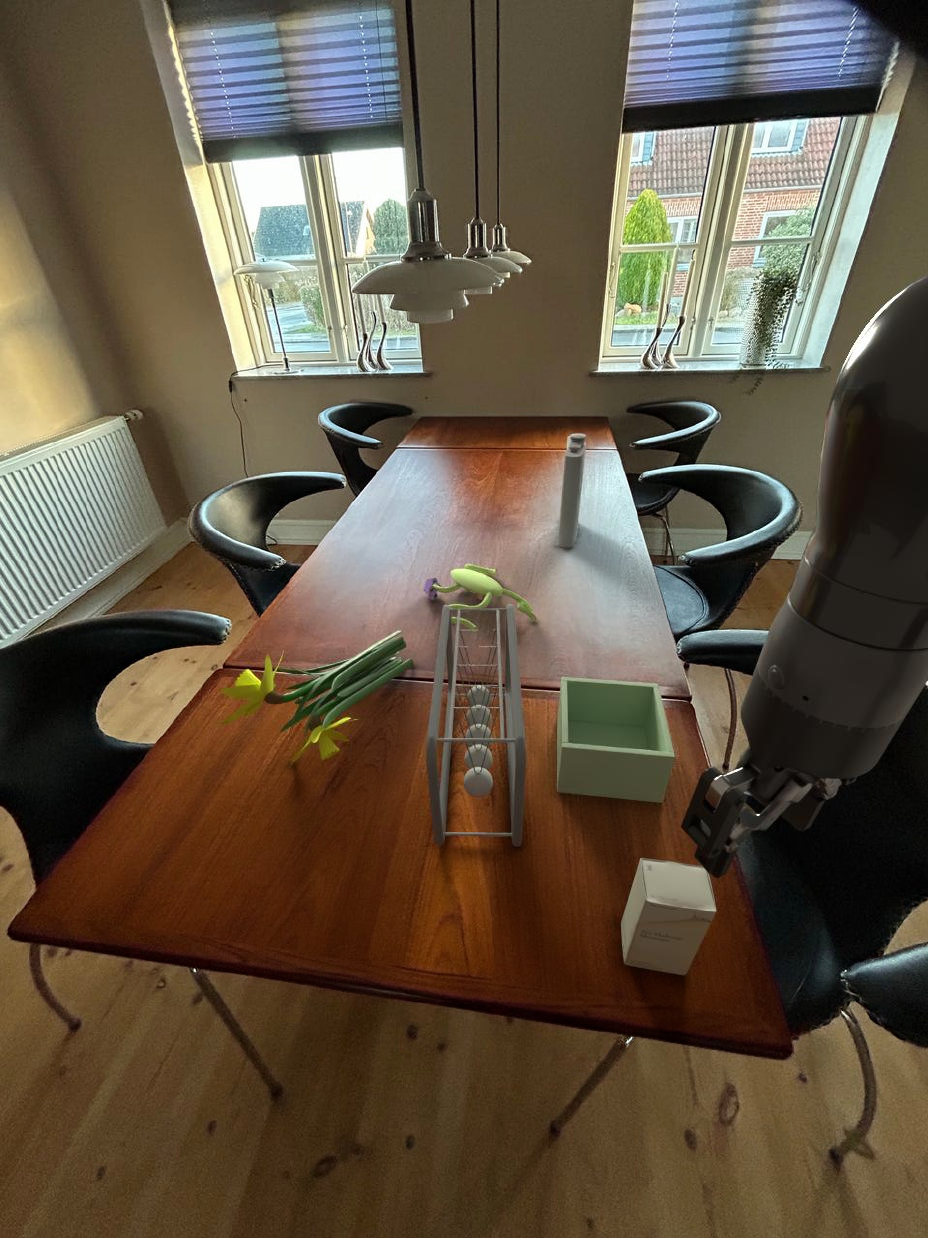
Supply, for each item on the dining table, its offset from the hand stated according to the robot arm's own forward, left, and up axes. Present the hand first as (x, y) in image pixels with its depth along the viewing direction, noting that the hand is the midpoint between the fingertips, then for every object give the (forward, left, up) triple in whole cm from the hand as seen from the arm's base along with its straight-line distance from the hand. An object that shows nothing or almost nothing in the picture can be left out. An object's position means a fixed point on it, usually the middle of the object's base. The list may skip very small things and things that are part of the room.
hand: (752, 842), depth 39 cm
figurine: (+69, -20, -23) cm, 75 cm away
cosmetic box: (+4, +1, -23) cm, 23 cm away
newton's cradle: (+35, +2, -23) cm, 42 cm away
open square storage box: (+25, -13, -23) cm, 36 cm away
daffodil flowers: (+55, +15, -23) cm, 61 cm away
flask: (+85, -59, -23) cm, 106 cm away
